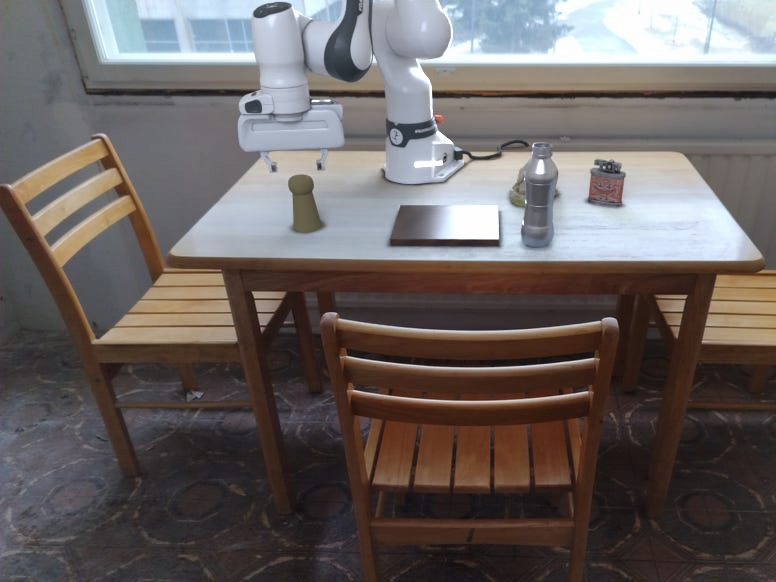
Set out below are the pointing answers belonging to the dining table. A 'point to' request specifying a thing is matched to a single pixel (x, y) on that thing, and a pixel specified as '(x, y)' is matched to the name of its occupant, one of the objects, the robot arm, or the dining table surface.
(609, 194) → the lighter
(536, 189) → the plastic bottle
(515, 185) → the ceramic model
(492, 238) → the walnut board
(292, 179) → the olive tapered cylinder
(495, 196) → the dining table surface
